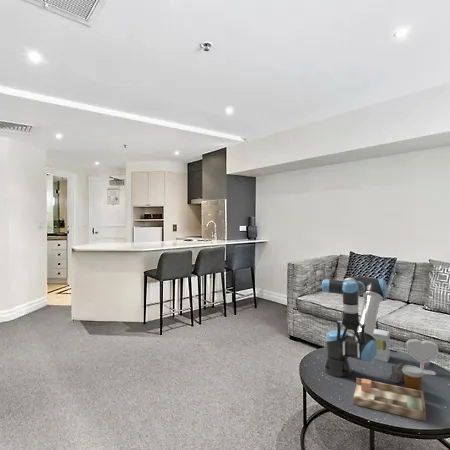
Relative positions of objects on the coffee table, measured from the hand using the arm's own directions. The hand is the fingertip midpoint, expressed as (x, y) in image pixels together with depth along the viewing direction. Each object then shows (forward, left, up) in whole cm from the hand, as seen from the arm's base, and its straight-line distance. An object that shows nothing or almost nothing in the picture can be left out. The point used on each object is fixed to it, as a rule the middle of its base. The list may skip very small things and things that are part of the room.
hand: (351, 355), depth 165 cm
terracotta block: (+7, 0, -16) cm, 18 cm away
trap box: (+17, -3, -19) cm, 26 cm away
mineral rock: (+24, +23, -19) cm, 39 cm away
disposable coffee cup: (+28, +13, -19) cm, 36 cm away
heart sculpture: (+34, +40, -19) cm, 56 cm away
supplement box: (+12, +49, -19) cm, 54 cm away
